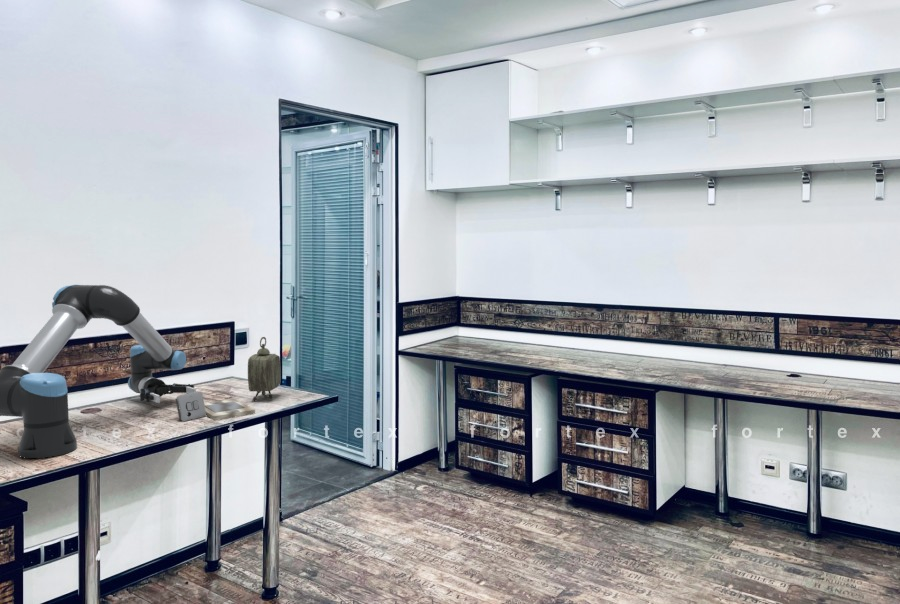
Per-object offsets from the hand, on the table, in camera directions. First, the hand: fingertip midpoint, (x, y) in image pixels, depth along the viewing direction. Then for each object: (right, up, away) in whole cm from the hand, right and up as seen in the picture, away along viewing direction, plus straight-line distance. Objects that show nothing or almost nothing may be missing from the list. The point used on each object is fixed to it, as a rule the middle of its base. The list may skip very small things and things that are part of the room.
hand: (177, 395), depth 239 cm
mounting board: (+16, -6, +3) cm, 18 cm away
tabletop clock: (+26, -5, +24) cm, 35 cm away
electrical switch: (+7, -7, -6) cm, 12 cm away
